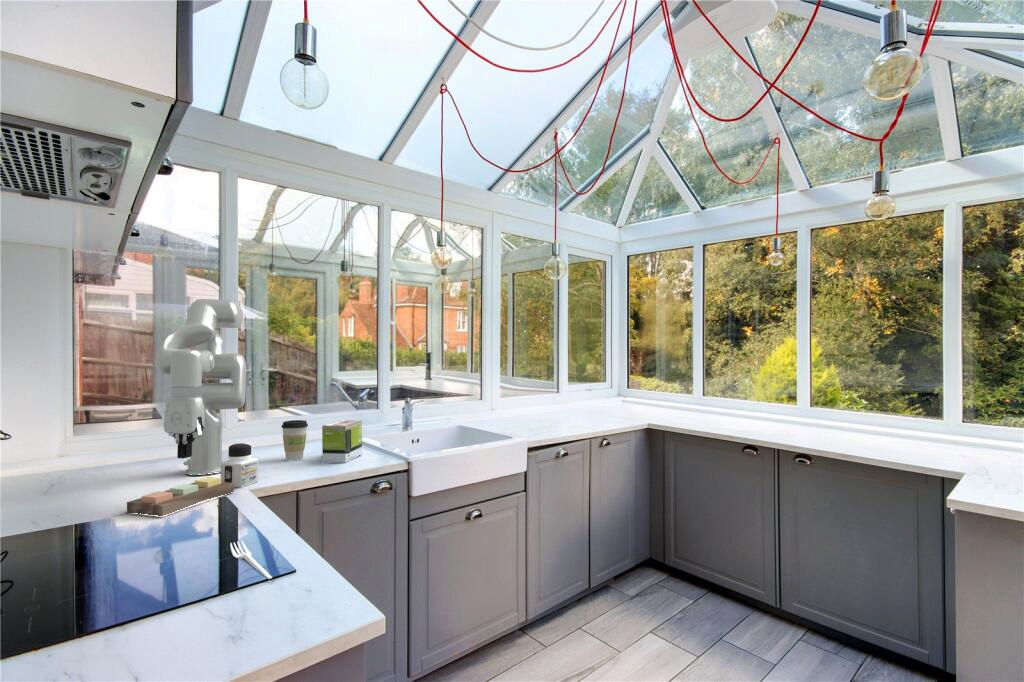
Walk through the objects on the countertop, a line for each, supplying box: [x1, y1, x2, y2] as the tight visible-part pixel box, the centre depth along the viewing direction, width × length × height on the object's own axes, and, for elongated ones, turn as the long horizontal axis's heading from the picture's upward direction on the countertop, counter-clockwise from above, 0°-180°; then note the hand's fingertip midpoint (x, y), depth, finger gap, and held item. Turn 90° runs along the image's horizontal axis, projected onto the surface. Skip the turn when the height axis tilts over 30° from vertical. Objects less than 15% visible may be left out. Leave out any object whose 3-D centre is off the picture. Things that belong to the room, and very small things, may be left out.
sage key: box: [169, 483, 198, 495], centre depth 139 cm, size 5×5×3 cm
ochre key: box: [194, 476, 221, 488], centre depth 147 cm, size 5×5×3 cm
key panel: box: [126, 481, 235, 516], centre depth 139 cm, size 12×23×3 cm, turn 165°
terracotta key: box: [141, 490, 173, 504], centre depth 131 cm, size 5×5×3 cm
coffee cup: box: [280, 419, 309, 461], centre depth 195 cm, size 10×10×15 cm
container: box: [220, 442, 259, 489], centre depth 158 cm, size 8×8×13 cm
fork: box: [230, 540, 273, 580], centre depth 100 cm, size 3×20×2 cm, turn 46°
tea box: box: [321, 419, 363, 464], centre depth 196 cm, size 15×10×15 cm, turn 172°
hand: (184, 457), depth 139 cm, fingers closed
